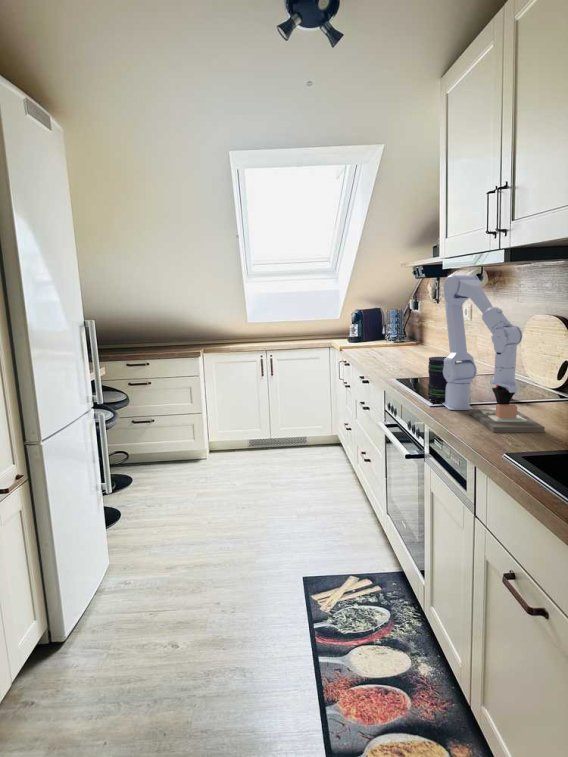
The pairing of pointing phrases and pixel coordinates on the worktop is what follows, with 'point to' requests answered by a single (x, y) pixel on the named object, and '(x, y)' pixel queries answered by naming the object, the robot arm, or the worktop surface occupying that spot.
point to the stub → (506, 414)
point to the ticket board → (483, 418)
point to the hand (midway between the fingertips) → (502, 411)
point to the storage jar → (436, 379)
